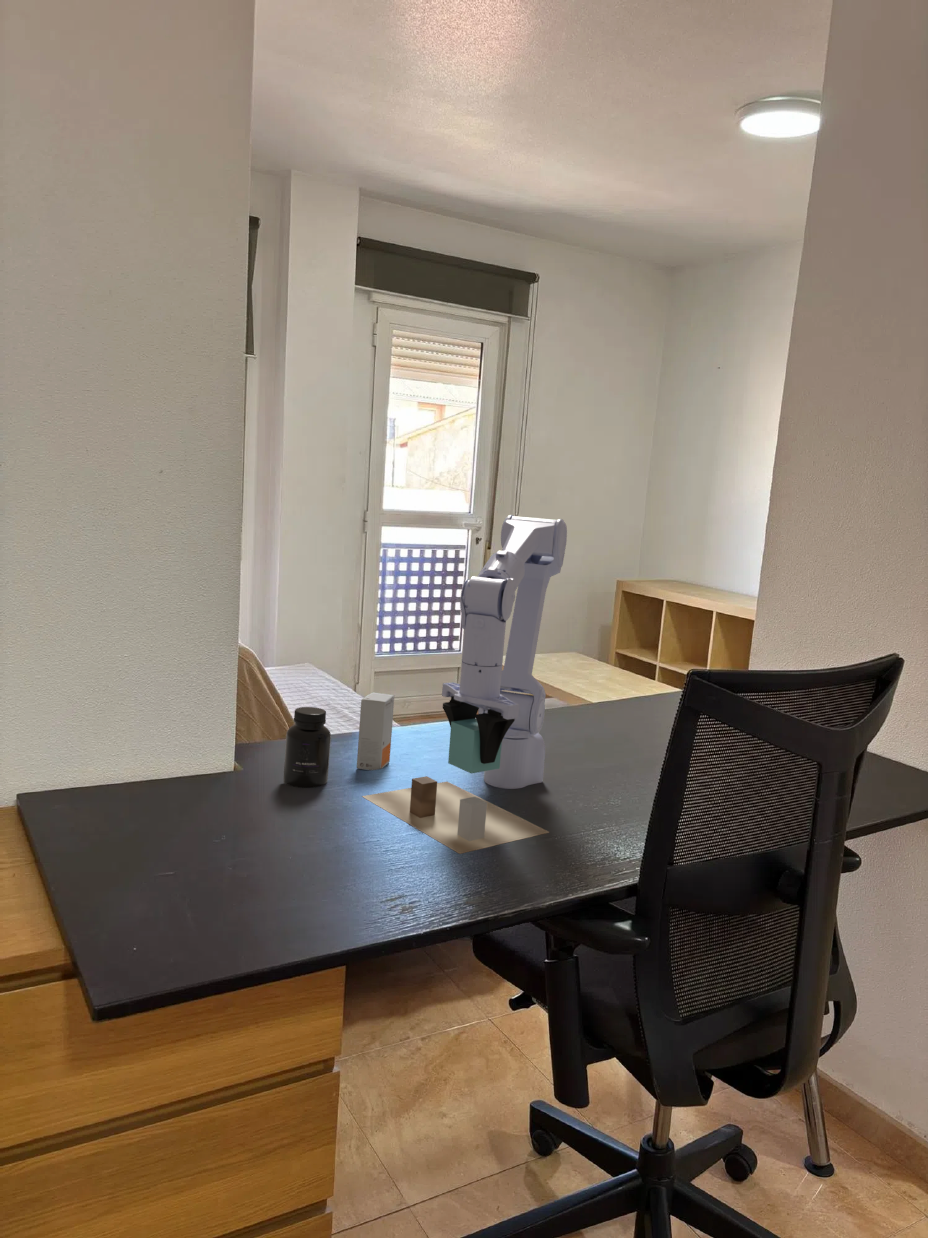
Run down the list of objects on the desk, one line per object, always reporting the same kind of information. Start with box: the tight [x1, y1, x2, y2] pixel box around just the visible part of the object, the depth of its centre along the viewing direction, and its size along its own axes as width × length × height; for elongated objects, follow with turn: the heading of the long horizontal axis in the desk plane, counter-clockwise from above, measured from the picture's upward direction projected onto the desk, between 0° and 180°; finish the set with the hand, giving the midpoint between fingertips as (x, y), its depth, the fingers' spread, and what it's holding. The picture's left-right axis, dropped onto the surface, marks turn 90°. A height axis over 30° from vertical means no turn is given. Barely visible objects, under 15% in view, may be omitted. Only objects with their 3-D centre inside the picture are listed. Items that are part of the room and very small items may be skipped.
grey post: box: [457, 797, 487, 841], centre depth 123 cm, size 3×3×5 cm
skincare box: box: [356, 691, 395, 771], centre depth 153 cm, size 6×4×12 cm
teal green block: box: [447, 717, 502, 774], centre depth 129 cm, size 5×5×6 cm
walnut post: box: [410, 775, 438, 818], centre depth 130 cm, size 3×3×5 cm
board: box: [361, 781, 550, 855], centre depth 132 cm, size 16×24×1 cm, turn 38°
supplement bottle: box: [283, 706, 332, 789], centre depth 140 cm, size 7×7×12 cm
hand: (474, 756), depth 129 cm, fingers closed on teal green block, 5 cm apart
